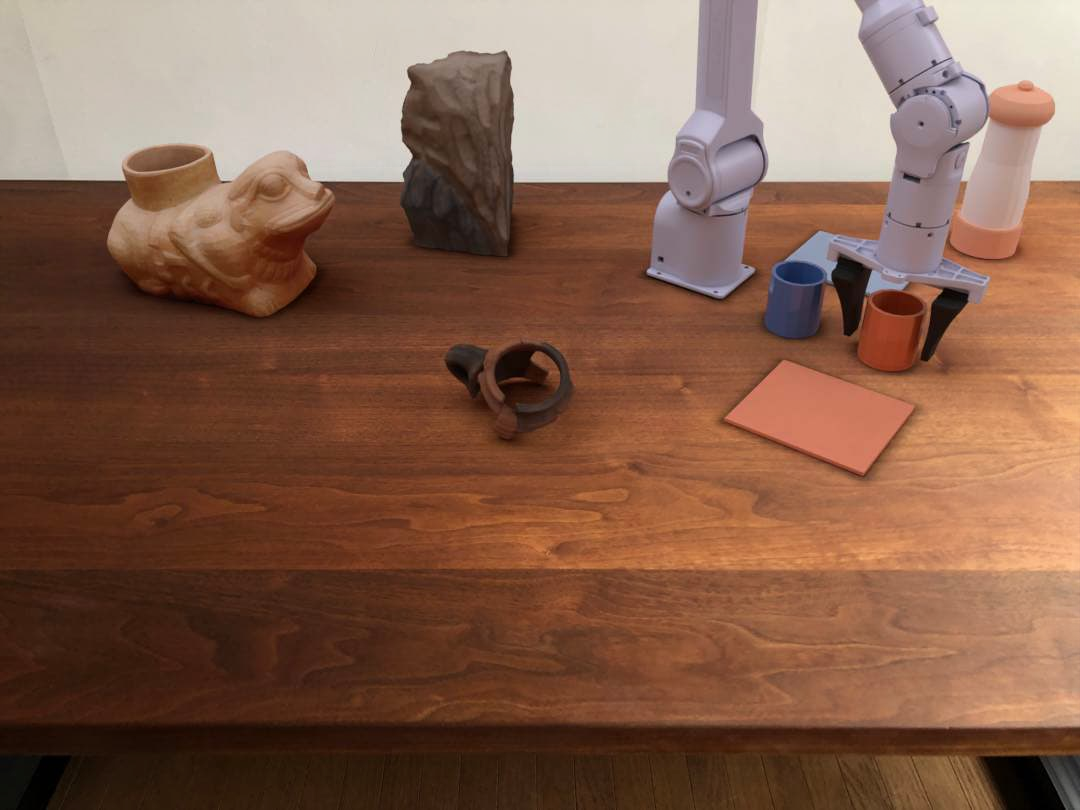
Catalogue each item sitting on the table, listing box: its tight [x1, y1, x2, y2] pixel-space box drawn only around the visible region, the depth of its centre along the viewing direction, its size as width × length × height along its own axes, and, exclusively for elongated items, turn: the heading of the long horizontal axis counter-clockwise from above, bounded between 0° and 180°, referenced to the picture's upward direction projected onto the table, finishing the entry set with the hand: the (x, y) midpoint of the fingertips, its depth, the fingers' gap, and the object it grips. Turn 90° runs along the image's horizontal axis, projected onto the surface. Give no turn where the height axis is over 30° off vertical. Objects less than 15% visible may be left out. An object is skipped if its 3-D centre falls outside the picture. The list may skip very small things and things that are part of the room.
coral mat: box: [723, 359, 916, 477], centre depth 95 cm, size 13×12×1 cm
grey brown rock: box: [399, 49, 515, 257], centre depth 120 cm, size 13×13×20 cm
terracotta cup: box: [856, 289, 929, 373], centre depth 101 cm, size 5×5×6 cm
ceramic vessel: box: [106, 142, 336, 318], centre depth 110 cm, size 14×26×15 cm, turn 71°
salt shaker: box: [949, 79, 1056, 260], centre depth 117 cm, size 7×7×19 cm
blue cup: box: [763, 260, 828, 340], centre depth 106 cm, size 5×5×6 cm
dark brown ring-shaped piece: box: [443, 337, 577, 441], centre depth 94 cm, size 12×10×8 cm
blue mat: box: [784, 230, 911, 297], centre depth 118 cm, size 13×11×1 cm
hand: (888, 344), depth 102 cm, fingers open, 7 cm apart
